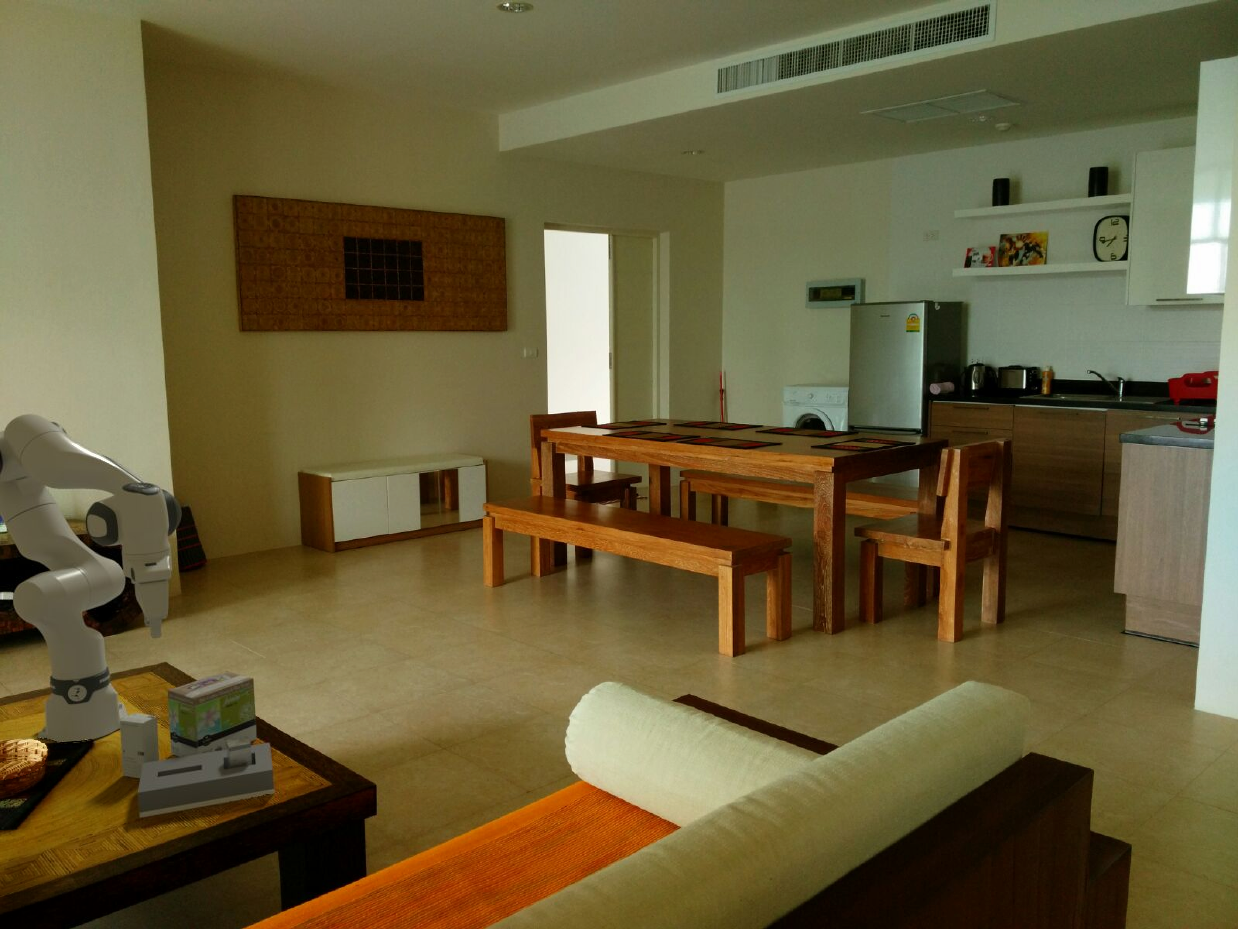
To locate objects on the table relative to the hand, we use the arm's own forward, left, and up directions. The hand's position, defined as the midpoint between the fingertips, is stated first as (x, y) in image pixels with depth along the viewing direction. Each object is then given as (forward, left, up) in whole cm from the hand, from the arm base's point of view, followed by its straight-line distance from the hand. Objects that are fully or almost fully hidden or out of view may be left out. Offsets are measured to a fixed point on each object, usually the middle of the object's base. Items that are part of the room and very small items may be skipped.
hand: (153, 631), depth 198 cm
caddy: (+10, +8, -31) cm, 34 cm away
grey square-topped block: (+10, +14, -30) cm, 35 cm away
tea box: (-12, +9, -31) cm, 35 cm away
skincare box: (-4, -5, -31) cm, 32 cm away
